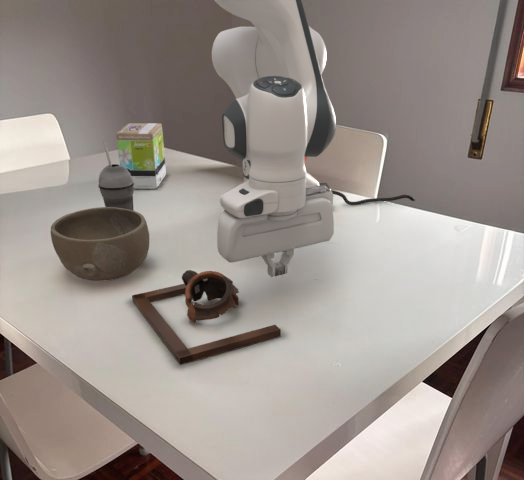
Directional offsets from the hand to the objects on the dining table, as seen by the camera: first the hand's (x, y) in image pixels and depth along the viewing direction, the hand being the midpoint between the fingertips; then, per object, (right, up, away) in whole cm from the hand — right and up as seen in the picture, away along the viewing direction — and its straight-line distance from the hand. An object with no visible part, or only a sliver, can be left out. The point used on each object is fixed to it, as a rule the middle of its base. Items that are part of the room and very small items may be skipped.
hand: (277, 274), depth 95 cm
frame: (-12, -8, -3) cm, 15 cm away
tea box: (-36, +35, +65) cm, 82 cm away
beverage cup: (-33, +12, +28) cm, 45 cm away
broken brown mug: (-11, -7, -1) cm, 13 cm away
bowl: (-32, +2, +13) cm, 35 cm away
